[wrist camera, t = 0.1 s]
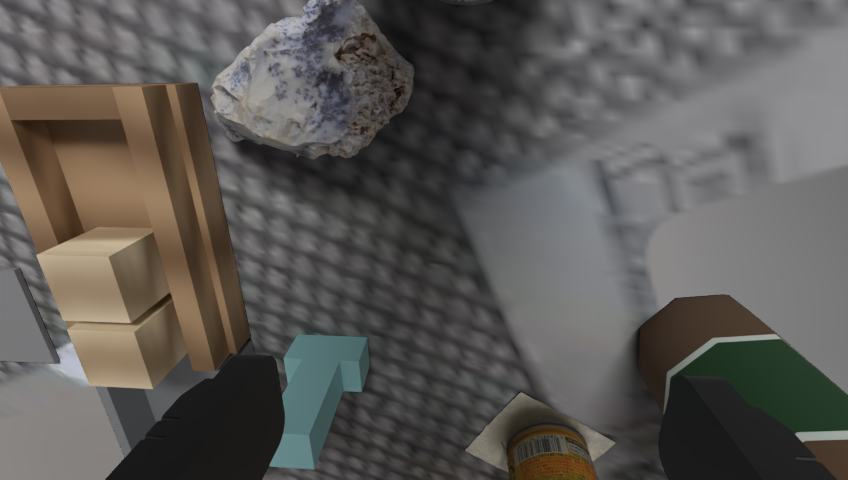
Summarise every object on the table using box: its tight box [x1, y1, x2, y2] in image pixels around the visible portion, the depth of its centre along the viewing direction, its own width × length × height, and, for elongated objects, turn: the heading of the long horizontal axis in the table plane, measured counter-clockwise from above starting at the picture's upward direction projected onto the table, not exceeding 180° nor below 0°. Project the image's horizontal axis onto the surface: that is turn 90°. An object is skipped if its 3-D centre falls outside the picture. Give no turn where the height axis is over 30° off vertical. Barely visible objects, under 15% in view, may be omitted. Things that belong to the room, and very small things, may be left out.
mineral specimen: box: [210, 0, 414, 160], centre depth 22 cm, size 8×8×10 cm
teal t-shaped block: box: [270, 334, 370, 470], centre depth 26 cm, size 2×5×8 cm, turn 91°
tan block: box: [67, 295, 188, 389], centre depth 26 cm, size 4×4×4 cm
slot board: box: [0, 83, 251, 371], centre depth 26 cm, size 17×10×4 cm, turn 1°
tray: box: [96, 340, 255, 458], centre depth 31 cm, size 11×10×3 cm
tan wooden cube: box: [36, 227, 170, 323], centre depth 24 cm, size 4×4×4 cm
